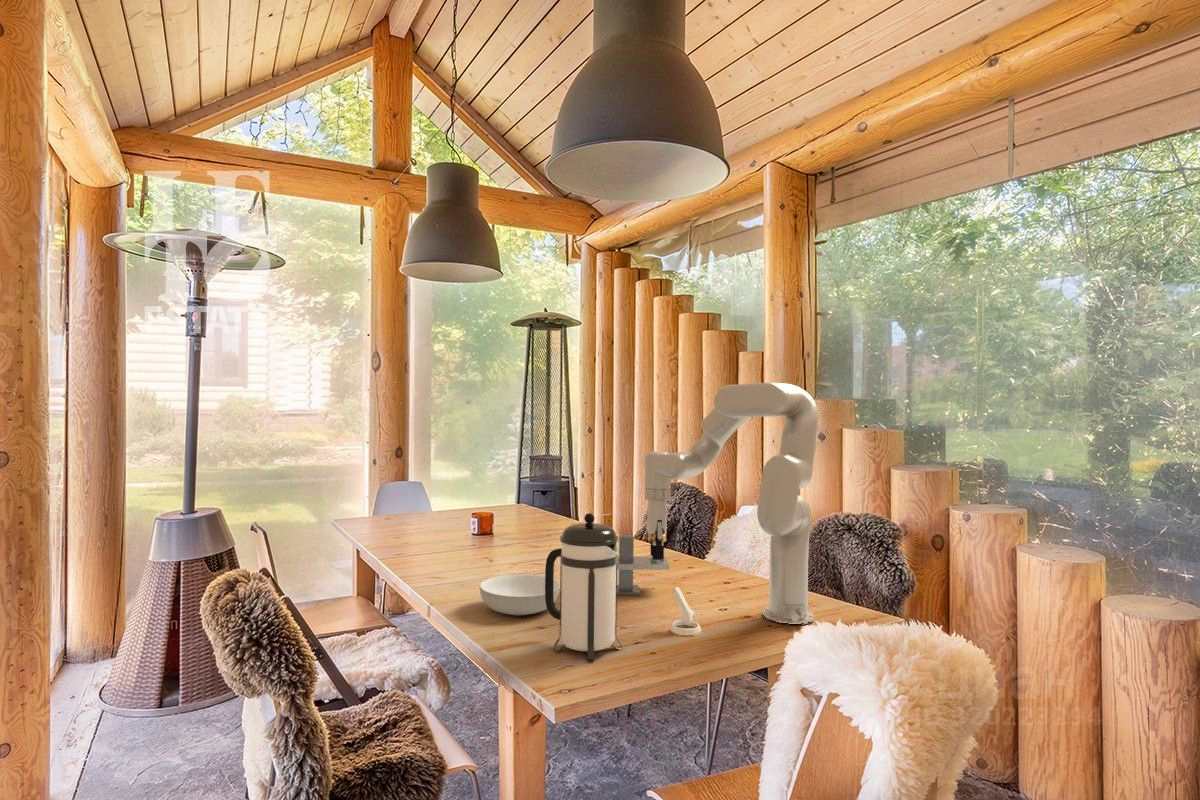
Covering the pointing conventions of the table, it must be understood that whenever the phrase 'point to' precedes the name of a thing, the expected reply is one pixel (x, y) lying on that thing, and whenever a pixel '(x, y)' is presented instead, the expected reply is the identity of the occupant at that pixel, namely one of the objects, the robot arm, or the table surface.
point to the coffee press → (585, 587)
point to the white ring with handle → (684, 616)
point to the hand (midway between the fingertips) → (657, 556)
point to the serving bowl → (516, 593)
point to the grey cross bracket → (633, 566)
